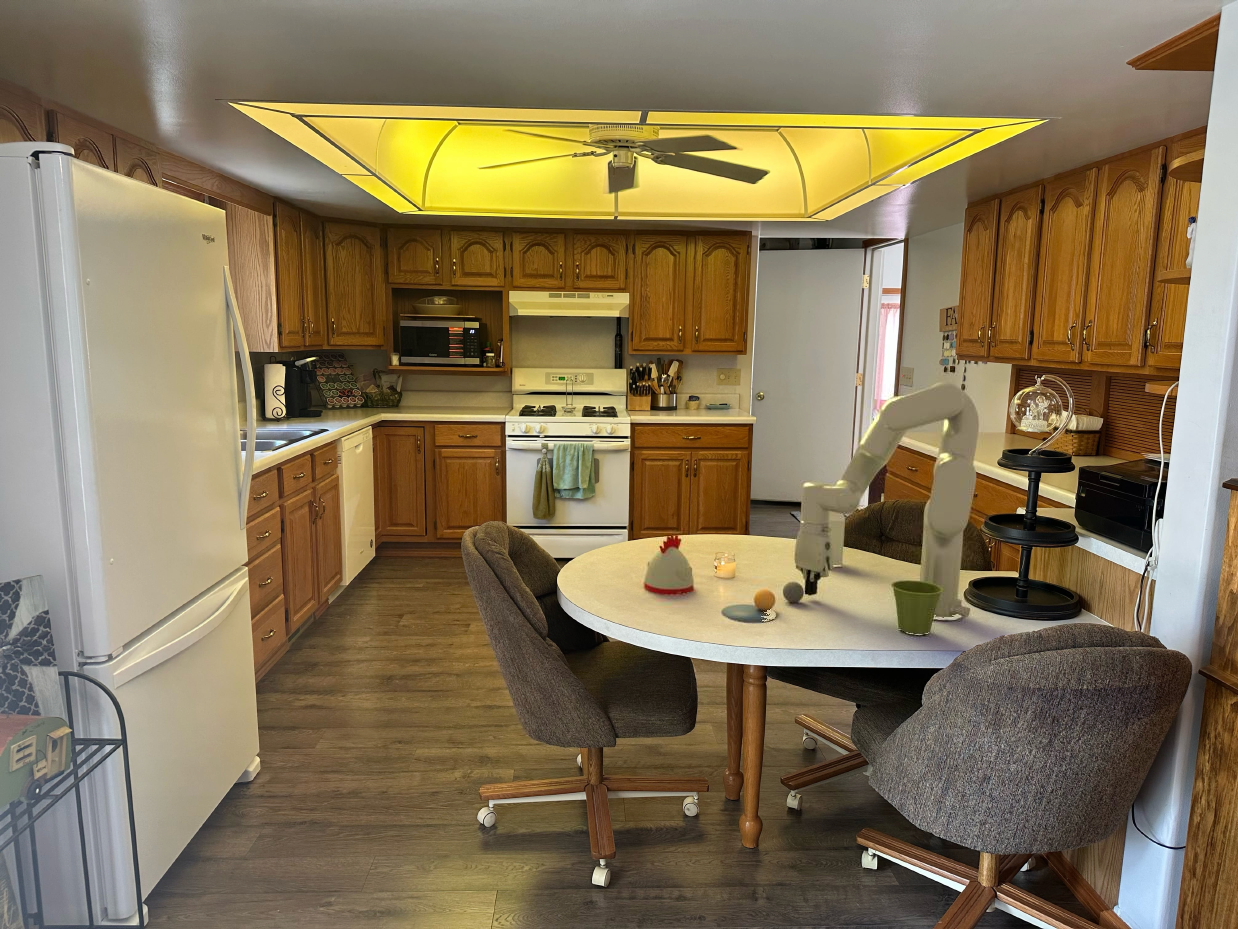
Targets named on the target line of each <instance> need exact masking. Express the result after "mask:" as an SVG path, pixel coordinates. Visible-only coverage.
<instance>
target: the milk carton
mask: <svg viewBox="0 0 1238 929" xmlns="http://www.w3.org/2000/svg"><path fill="white" fill-rule="evenodd" d="M845 523H846V518H845V514H840V513H836V512H832V511H830V518H829V527H830V528H831V532H829V535H831V538H832V546H833V565H842V566H843V560H844V558H843V557H844V545H845V544H844V543H845V542H844V541H845V525H846V524H845Z"/></svg>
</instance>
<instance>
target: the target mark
mask: <svg viewBox="0 0 1238 929" xmlns="http://www.w3.org/2000/svg"><path fill="white" fill-rule="evenodd" d="M764 612H767V611H763V610H760V609H758V608H757V607H756V605H755V604H745V603H744V604H732V605H727V606H726V607H723V608H722V609H721V614H722V615H723V616H724V617H725V616H726V617H725V618H727V617H728V618H727V619H729V618H730V619H729V620H732V619H733V621H736V620H737V622H741V621H742V623H749V622H762V623H765V622H764V621H762V620H766V619H767V618H764V617H761V616H769V615H770V614H769V615H768V614H767V613H764ZM766 614H767V615H766ZM767 620H768V619H767ZM769 620H770V619H769Z"/></svg>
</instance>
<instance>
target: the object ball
mask: <svg viewBox="0 0 1238 929" xmlns="http://www.w3.org/2000/svg"><path fill="white" fill-rule="evenodd" d="M753 602H754V605H756V607H757V608H758V609H760V610H763V611H767V610H770V609H771V610H772V609H773V608H774V606H775V604H776V597H775V593H773V592H772V591H771V590H770V589H766V588H763V589H759V590H758V591H756V592H755V594H754V597H753Z"/></svg>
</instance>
